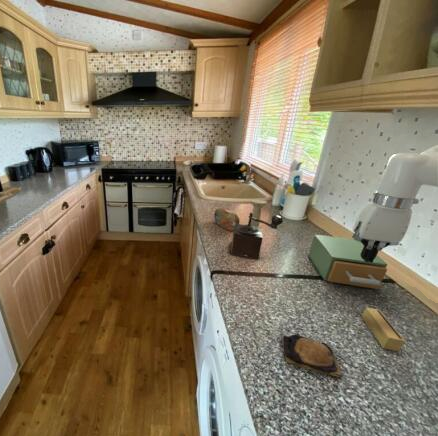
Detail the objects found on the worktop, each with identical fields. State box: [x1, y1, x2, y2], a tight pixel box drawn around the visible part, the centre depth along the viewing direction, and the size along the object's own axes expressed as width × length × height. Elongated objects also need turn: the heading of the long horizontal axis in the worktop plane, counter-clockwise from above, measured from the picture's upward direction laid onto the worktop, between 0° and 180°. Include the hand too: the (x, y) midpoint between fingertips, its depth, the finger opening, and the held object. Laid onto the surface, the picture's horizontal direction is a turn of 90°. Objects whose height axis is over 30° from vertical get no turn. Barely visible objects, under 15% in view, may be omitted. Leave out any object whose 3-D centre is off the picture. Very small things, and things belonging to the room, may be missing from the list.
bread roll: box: [280, 333, 343, 378], centre depth 55 cm, size 11×8×4 cm
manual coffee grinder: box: [230, 212, 284, 260], centre depth 94 cm, size 16×11×18 cm
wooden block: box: [361, 307, 405, 352], centre depth 60 cm, size 10×3×4 cm, turn 164°
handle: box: [250, 199, 267, 227], centre depth 112 cm, size 5×6×15 cm
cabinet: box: [308, 234, 388, 282], centre depth 85 cm, size 17×15×9 cm
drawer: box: [327, 259, 388, 290], centre depth 80 cm, size 20×13×7 cm, turn 164°
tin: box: [213, 208, 241, 231], centre depth 118 cm, size 15×3×8 cm, turn 25°
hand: (366, 259), depth 72 cm, fingers closed
